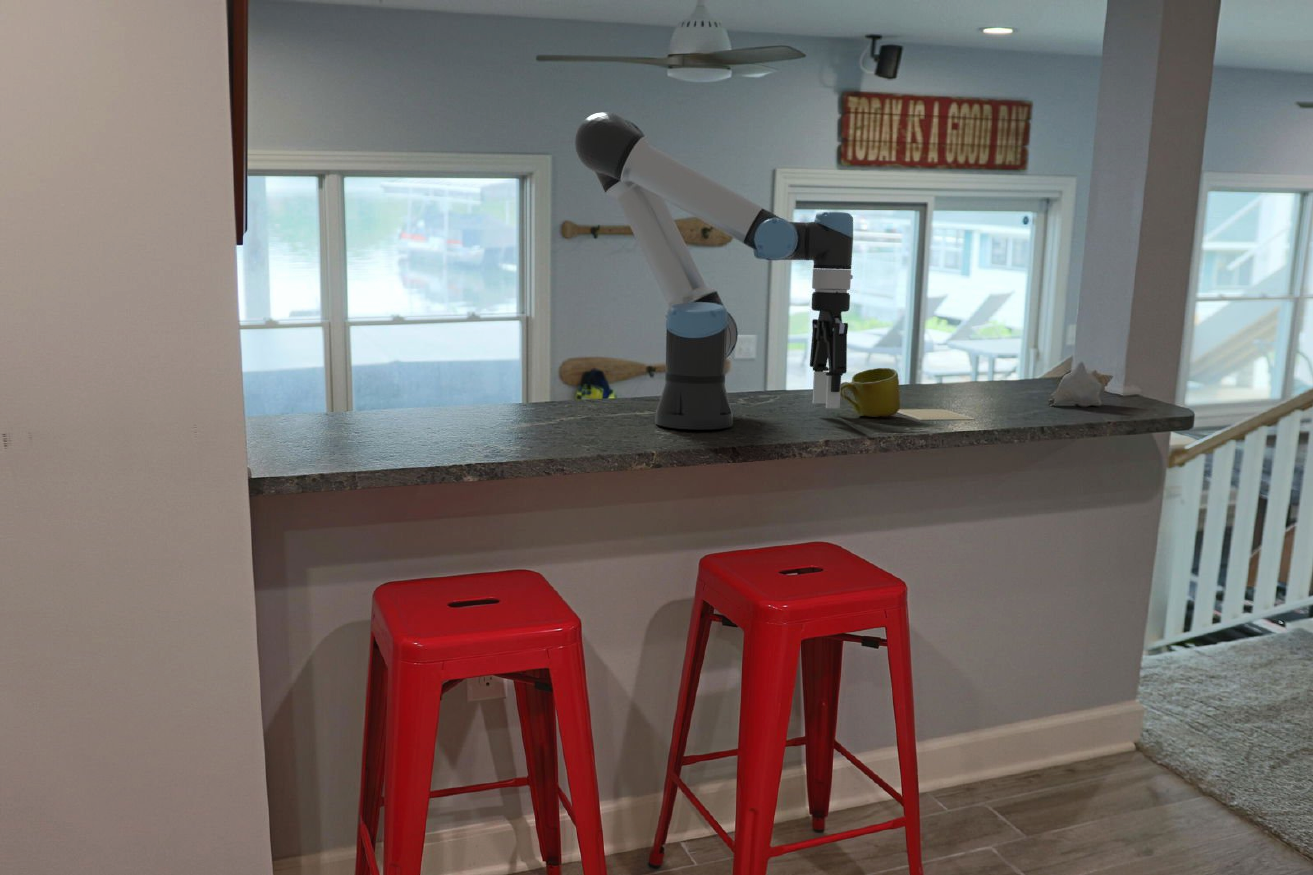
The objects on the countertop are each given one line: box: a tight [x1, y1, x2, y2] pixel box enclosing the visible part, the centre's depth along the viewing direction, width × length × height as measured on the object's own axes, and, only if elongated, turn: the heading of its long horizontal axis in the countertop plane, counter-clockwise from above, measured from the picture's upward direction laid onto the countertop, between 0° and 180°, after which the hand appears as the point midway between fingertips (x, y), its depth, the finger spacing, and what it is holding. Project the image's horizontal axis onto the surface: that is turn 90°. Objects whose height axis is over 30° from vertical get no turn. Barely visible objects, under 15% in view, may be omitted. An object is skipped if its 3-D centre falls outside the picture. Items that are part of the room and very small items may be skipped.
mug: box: [840, 367, 901, 418], centre depth 224 cm, size 12×10×10 cm
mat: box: [896, 408, 976, 421], centre depth 229 cm, size 12×14×1 cm
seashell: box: [1047, 360, 1114, 408], centre depth 246 cm, size 12×10×15 cm
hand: (825, 405), depth 224 cm, fingers open, 7 cm apart
